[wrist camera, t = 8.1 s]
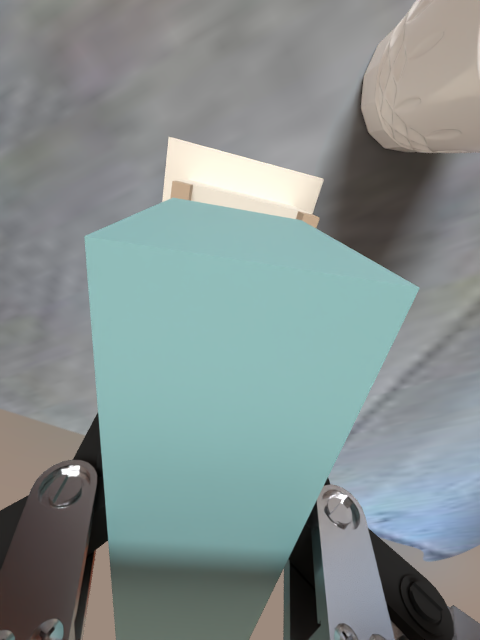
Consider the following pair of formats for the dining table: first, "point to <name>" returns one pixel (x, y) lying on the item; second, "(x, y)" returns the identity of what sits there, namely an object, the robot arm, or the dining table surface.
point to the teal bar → (223, 401)
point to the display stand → (238, 182)
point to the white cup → (427, 80)
